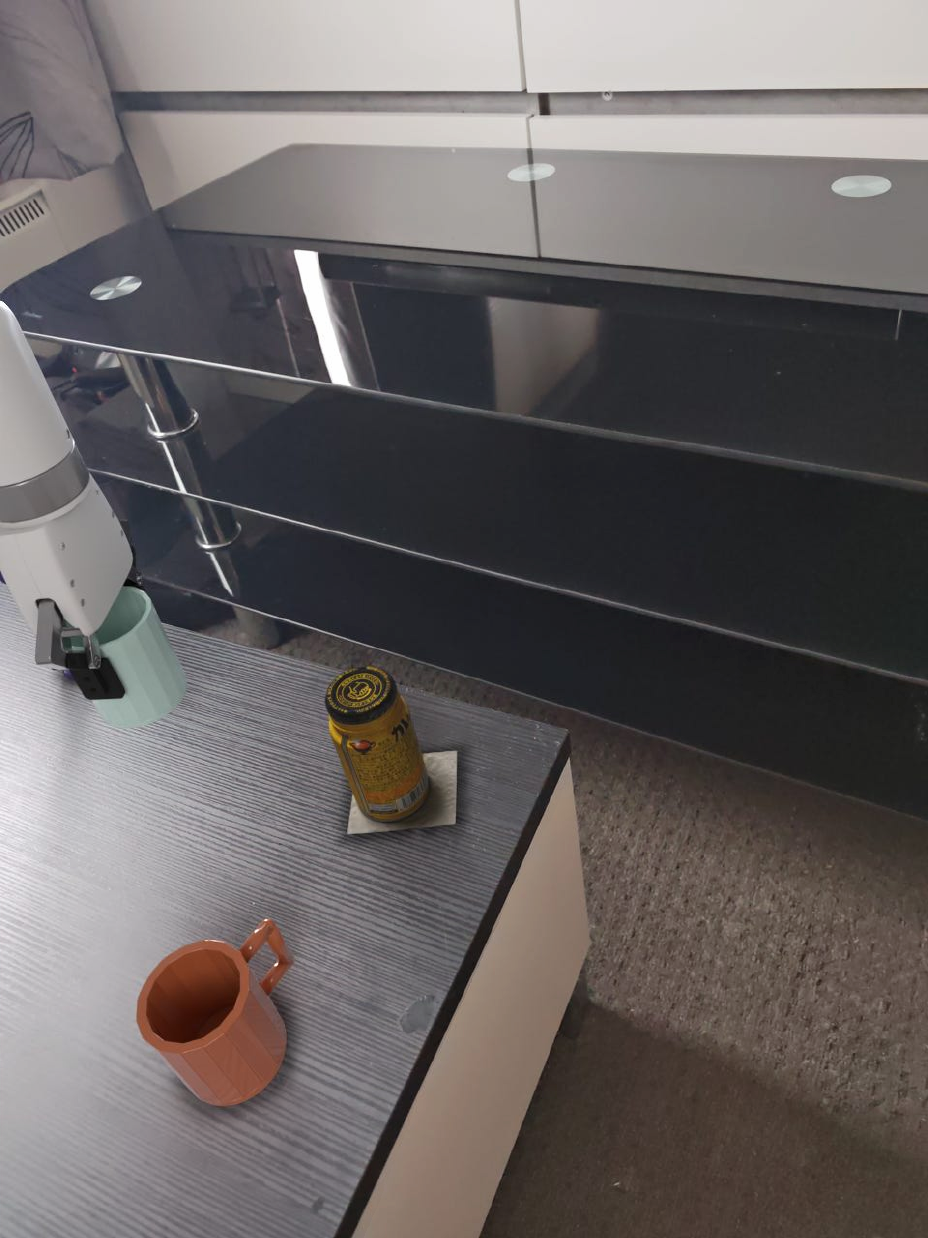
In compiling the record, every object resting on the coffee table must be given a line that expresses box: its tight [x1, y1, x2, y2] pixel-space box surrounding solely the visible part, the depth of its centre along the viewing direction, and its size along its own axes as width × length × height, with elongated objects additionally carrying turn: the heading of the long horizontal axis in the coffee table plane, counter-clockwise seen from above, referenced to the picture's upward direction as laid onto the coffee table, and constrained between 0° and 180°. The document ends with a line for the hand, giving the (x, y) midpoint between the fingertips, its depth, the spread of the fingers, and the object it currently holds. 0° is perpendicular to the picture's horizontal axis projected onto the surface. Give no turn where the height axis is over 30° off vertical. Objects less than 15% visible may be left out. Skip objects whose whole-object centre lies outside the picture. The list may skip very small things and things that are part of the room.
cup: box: [66, 586, 188, 729], centre depth 75 cm, size 8×8×9 cm
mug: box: [135, 917, 295, 1107], centre depth 58 cm, size 10×7×8 cm
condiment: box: [324, 665, 458, 835], centre depth 69 cm, size 7×8×12 cm
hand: (124, 658), depth 76 cm, fingers closed on cup, 7 cm apart
